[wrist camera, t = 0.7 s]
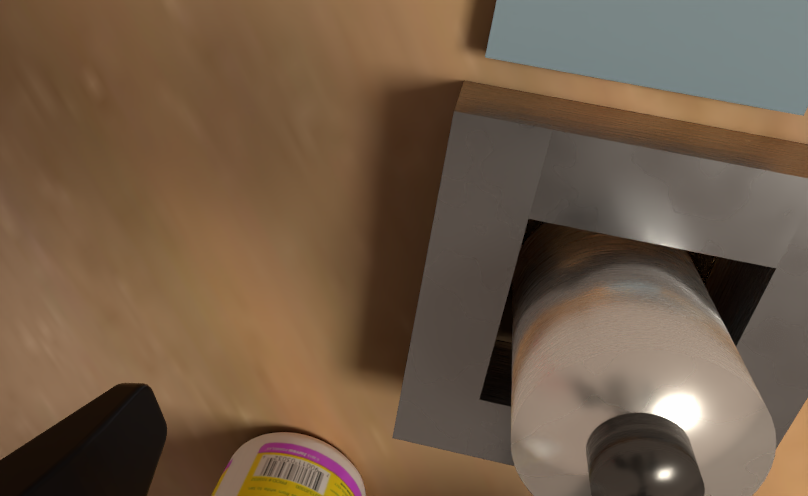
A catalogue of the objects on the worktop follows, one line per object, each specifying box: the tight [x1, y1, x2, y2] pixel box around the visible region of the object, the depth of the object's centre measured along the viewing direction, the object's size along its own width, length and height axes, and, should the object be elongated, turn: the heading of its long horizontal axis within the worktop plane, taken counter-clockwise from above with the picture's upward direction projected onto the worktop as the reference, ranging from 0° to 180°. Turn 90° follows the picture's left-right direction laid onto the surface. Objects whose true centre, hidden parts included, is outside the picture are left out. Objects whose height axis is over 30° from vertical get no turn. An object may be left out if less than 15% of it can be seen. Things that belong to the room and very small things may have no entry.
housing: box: [393, 81, 808, 466], centre depth 20 cm, size 12×12×4 cm
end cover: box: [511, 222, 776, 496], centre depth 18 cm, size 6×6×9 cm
